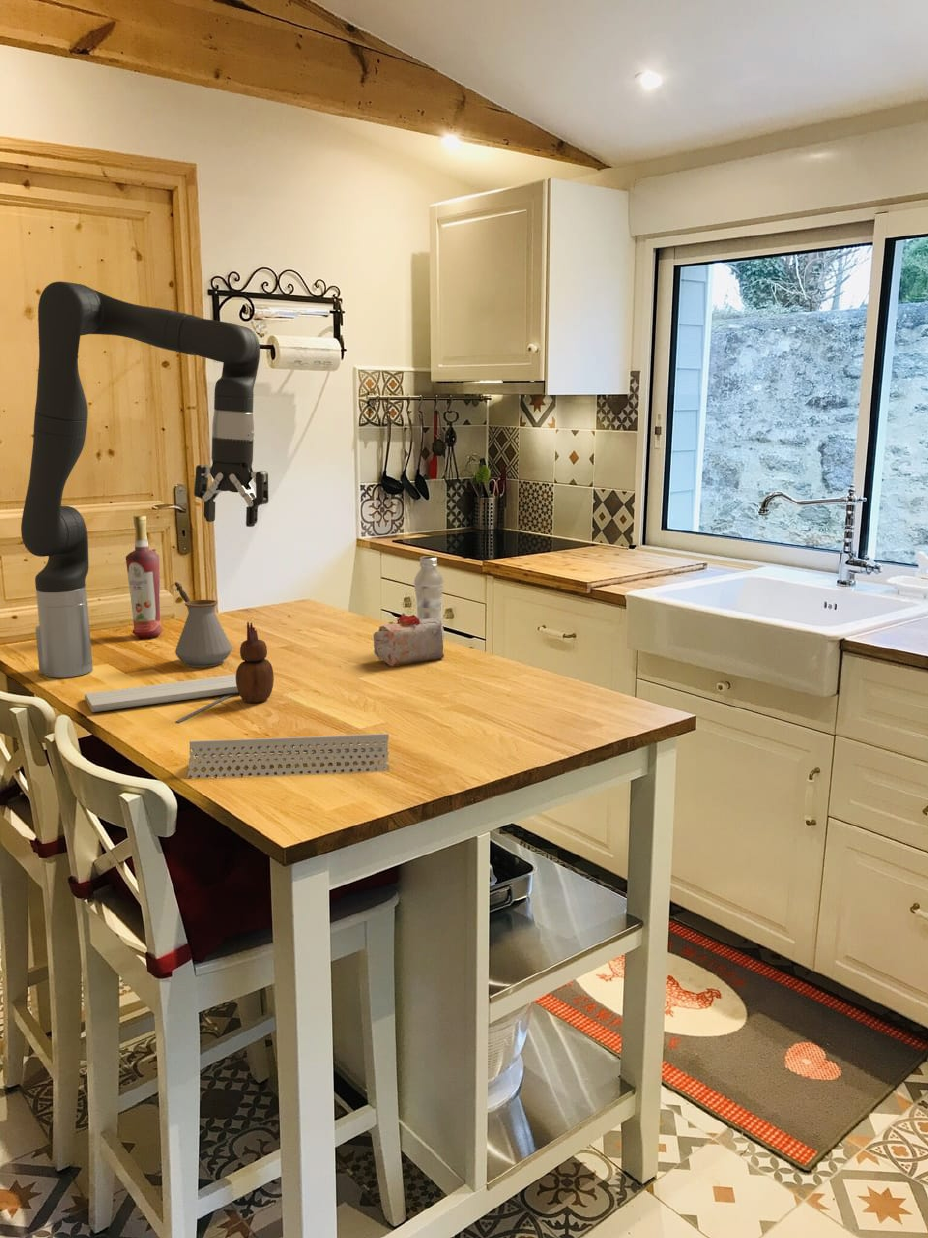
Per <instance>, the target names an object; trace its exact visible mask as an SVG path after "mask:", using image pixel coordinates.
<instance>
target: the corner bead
mask: <svg viewBox="0 0 928 1238" xmlns="http://www.w3.org/2000/svg"><path fill="white" fill-rule="evenodd" d="M388 749H389V733H378V734H377V733H376V734H375V733H373V734H348V735H347V734H345V735H343V734H341V735H321V736H319V735H317V736H315V735H313V736H294V737H293V736H291V737H290V736H288V737H263V738H260V737H259V738H233V739H232V738H231V739H208V740H200V739H199V740H189V756H190V757H189V758H188V767H187V768H188V769H189V771H188V772H187V777H186V779H187V778H203V779H215V778H214V777H219V778H218V779H220V777H222V778H221V779H223V777H228V778H242V777H241V776H253V777H272V776H275V777H277V776H298V775H299V776H300V775H301V776H302V775H318V774H319V775H323V774H348V773H351V774H352V773H372V772H375V773H376V772H390V771H391V770H390V764H387V762H388V760H389V754H390V752H389V751H388ZM367 756H368V757H367ZM375 756H376V757H375ZM383 756H385V757H383ZM342 757H343V758H342ZM350 757H352V758H350ZM309 758H310V759H309ZM317 758H318V759H317ZM325 758H326V759H325ZM284 759H285V760H284ZM292 759H294V760H292ZM259 760H260V761H259ZM267 760H268V761H267ZM233 761H235V762H233ZM242 761H243V762H242ZM208 762H210V763H208ZM363 762H364V763H365V764H362V763H363ZM371 762H373V764H370V763H371ZM379 762H381V764H379ZM337 763H339V764H340V765H338V764H337ZM346 763H348V765H346ZM354 763H357V764H356V765H354ZM304 764H306V765H307V766H305V767H304ZM313 764H314V765H315V766H313V767H312V765H313ZM321 764H323V765H324V766H321ZM329 764H332V765H330V766H329ZM279 765H281V767H280V768H279ZM287 765H290V767H287ZM296 765H298V766H299V767H295V766H296ZM246 766H247V767H248V768H247V769H245V767H246ZM254 766H255V767H256V768H255V769H254ZM262 766H265V768H262ZM270 766H273V767H272V768H270ZM237 767H239V769H238V770H237V769H236V768H237ZM195 768H196V769H197V770H196V771H195V772H194V769H195ZM203 768H204V769H206V770H204V771H202V770H203ZM211 768H213V769H214V770H213V771H211ZM220 768H222V769H221V771H220V770H219V769H220ZM228 768H231V769H230V770H228ZM368 769H369V770H368ZM351 770H352V771H351ZM359 770H360V771H359ZM309 771H310V773H309ZM326 771H327V772H326ZM292 772H293V773H292ZM301 772H302V773H301ZM267 773H268V774H267ZM275 773H276V774H275ZM284 773H285V774H284ZM249 774H250V775H249ZM216 775H217V776H216ZM190 776H191V777H190ZM207 776H208V777H209V778H208V777H207ZM237 776H239V777H237ZM211 777H213V778H211Z"/></svg>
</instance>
